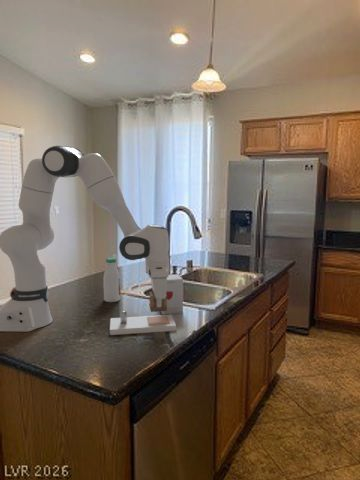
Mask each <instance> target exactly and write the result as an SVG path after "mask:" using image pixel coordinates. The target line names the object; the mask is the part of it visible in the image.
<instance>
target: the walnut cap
mask: <svg viewBox="0 0 360 480" xmlns="http://www.w3.org/2000/svg"><path fill="white" fill-rule="evenodd" d="M148 294H149V310H150V312H151V313H155V312H161V311H167V295H166V297H165V298H164V299H162V306H161V307H157V305H156V298H155V295H154V292H153V291H149V293H148Z"/></svg>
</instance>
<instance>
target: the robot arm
mask: <svg viewBox="0 0 360 480" xmlns="http://www.w3.org/2000/svg"><path fill="white" fill-rule="evenodd" d="M73 177H79V178H80V180H81V181H82V182H83V184H84V186H85V187H86V190H87V192H88V193H89V196H90V197H91V199H92V200H93V202H94V203H95V204H96V205H97V206H98V207H100V208H102V209H104V210H105V211H107V212H108V213H110V214H111V215H112V217H114V219H115V221H116V222H117V225H118V227H119V228H120V230H121V232H122V234H123V236H124V237H123V238H122V239H121V241H120V242H119V247H118V248H119V249H118V250H119V253H120V255H121V256H122V257H123V258H124V259H125V260H129V261H137V260H141V259H145V260H144V261H145V273H146V274H147V275H148V277H149V278H150V285H151V288H152V292H154V295H155V298H156V305H157V307H161V306H162V299H164V298H165V297H166V288H167V277H169V275H170V257H169V250H170V239H169V231H168V229H167V228H166V227H164V226H162V225H158V224H151V223H149V224H147V225H146V226H145V227H142V228H140V227H139V226H138V224H137V222H136V221H135V219H134V216H132V213H131V211H130V210H129V208H128V206H127V203H126V201H125V199H124V196H123V195H124V194H123V193H122V190H121V187H120V184H119V182H118V180H117V178H116V176H115V174H114V172H113V171H112V169H111V167H110V165H109V164H108V163H107V161H106V160H105V159H104V157H103V156H102V155H101V154H100V153H97V152H96V153H95V152H94V153H93V152H91V153H87V154H85V153H83V152H82V151H81V150H80V149H78V148H74V147H71V146H67V145H64V146H63V145H54V146H53V145H52V146H50V147H48V148H47V149H46V150H44V152H43V154H42V157H41V158H34V159H32V160H30V161H29V163H28V165H27V168H26V169H25V172H24V175H23V179H22V183H21V184H22V185H21V189H20V194H19V200H18V208H19V209H20V211H21V212H22V217H23V218H22V220H23V221H22V224H19V225H18V224H17V225H12V226H10V227H8V228H7V229H5V230H3V231H2V232H1V233H0V250H1V251H2V252H3V253H4V254H5V255H6V256H7V257H8V258H9V260H10V263H11V265H12V268H13V273H14V282H15V283H14V284H15V285H14V287H12V289H11V290H10V293H9V297H10V299H9V300H8V301H7V302H5V303H4V304H3V305H2V306H1V307H0V332H25V333H26V332H32V331H33V330H36V329H41V328H42V327H45V326H48V325H50V324H51V323H53V320H54V319H53V317H52V315H51V311H50V306H49V289H48V285H47V275H46V274H47V272H46V266H45V265H44V264H43V263H41V261H40V259H39V255H38V251H40V250H43V249H46V248H47V247H48V246H50V245H51V244H52V242H54V239H55V233H54V229H53V228H52V227H51V219H50V218H51V217H50V216H51V213H50V212H51V206H52V201H53V195H54V190H55V186H56V182H57V180H58V179H59V178H73Z"/></svg>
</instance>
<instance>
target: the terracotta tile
mask: <svg viewBox="0 0 360 480" xmlns="http://www.w3.org/2000/svg"><path fill="white" fill-rule="evenodd" d="M156 316H157V315H156ZM147 321H148V325H160V324H170V322H169V319H168V317H167V316H157V317H147Z"/></svg>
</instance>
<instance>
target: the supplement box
mask: <svg viewBox="0 0 360 480" xmlns="http://www.w3.org/2000/svg"><path fill="white" fill-rule="evenodd" d="M166 295H167V311H160V313H161V315H174V314H183V313H184V278H183V277H181V276H180V275H179V274H169V277H167V288H166Z"/></svg>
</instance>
